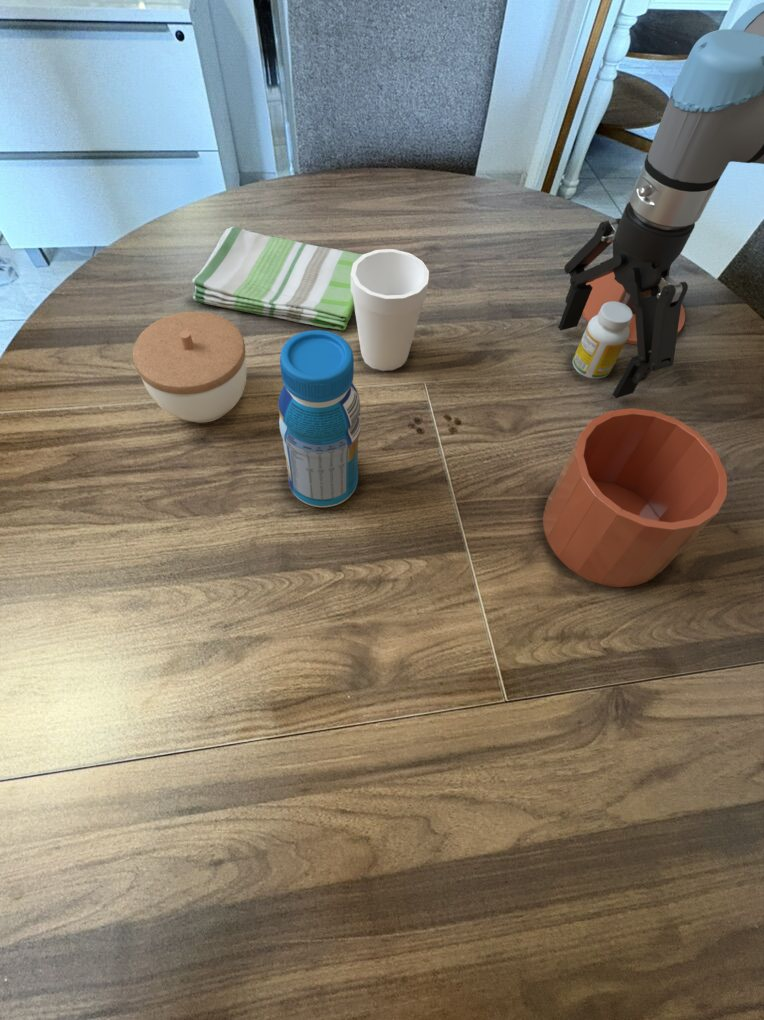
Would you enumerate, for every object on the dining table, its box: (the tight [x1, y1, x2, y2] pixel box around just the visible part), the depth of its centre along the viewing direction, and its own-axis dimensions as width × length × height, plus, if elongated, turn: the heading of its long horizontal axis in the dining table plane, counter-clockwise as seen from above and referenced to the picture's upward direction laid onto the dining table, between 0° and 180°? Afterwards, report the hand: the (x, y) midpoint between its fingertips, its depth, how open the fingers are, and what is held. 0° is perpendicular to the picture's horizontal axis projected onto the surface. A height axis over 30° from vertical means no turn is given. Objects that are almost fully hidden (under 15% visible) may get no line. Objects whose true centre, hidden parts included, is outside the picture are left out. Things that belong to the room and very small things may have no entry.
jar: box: [542, 407, 728, 588], centre depth 65 cm, size 15×15×12 cm
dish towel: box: [191, 225, 363, 331], centre depth 90 cm, size 17×23×4 cm
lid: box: [581, 272, 686, 346], centre depth 87 cm, size 16×16×11 cm
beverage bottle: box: [277, 329, 362, 508], centre depth 64 cm, size 8×8×20 cm
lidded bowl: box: [132, 311, 248, 424], centre depth 74 cm, size 13×13×11 cm
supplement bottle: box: [572, 301, 633, 379], centre depth 81 cm, size 5×5×10 cm
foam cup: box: [351, 248, 430, 372], centre depth 79 cm, size 10×9×13 cm
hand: (593, 359), depth 84 cm, fingers open, 13 cm apart
